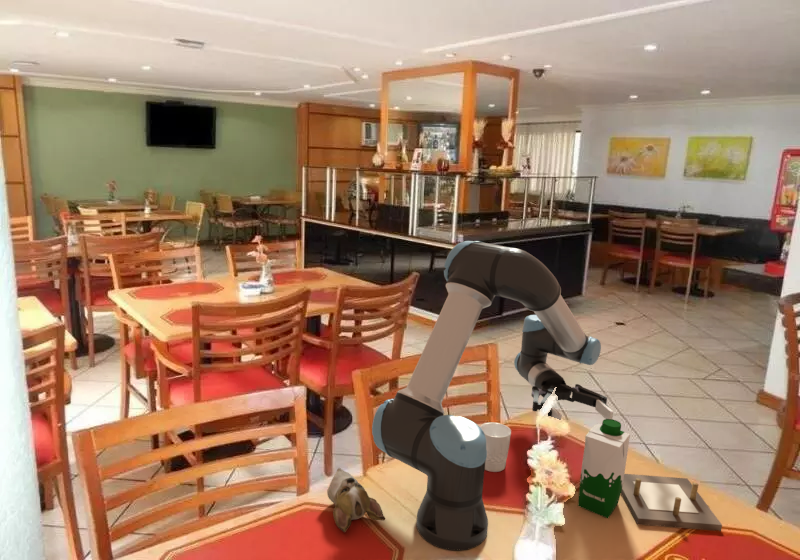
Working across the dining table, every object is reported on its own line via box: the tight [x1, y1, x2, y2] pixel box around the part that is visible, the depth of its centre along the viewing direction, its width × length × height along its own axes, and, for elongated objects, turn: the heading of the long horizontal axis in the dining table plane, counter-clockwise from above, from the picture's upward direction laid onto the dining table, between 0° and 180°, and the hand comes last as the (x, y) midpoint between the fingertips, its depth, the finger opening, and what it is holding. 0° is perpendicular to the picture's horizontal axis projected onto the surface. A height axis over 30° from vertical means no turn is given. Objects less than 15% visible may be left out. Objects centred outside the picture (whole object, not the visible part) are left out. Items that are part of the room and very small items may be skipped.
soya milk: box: [577, 418, 631, 519], centre depth 130 cm, size 9×9×20 cm
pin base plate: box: [621, 473, 723, 532], centre depth 134 cm, size 18×18×6 cm
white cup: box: [479, 421, 512, 473], centre depth 146 cm, size 8×8×10 cm
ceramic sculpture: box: [327, 467, 386, 533], centre depth 125 cm, size 11×9×15 cm
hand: (585, 418), depth 138 cm, fingers open, 13 cm apart
